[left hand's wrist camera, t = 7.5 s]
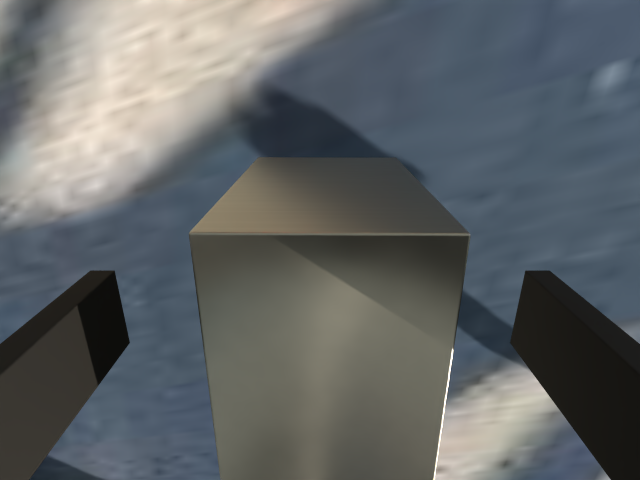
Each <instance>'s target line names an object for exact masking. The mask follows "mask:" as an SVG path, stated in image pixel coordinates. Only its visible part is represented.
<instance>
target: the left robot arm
mask: <svg viewBox="0 0 640 480" xmlns="http://www.w3.org/2000/svg"><path fill="white" fill-rule="evenodd" d="M129 343H130V341H129V337H128V332H127V327H126V323H125V318H124V313H123V308H122V304H121V299H120V294H119V289H118V285H117V280H116V275H115V271H90V272H88V273H87V274H86V275H85V276H83V277H82V278H81V279H80V280H78V281H77V282H76V283H75V284H74V285H72V286H71V287H70V288H69V289H67V290H66V291H65V292H64V293H62V294H61V295H60V296H59V297H58V298H56V299H55V300H54V301H53V302H51V303H50V304H49V305H48V306H46V307H45V308H44V309H43V310H42V311H40V312H39V313H38V314H37V315H35V316H34V317H33V318H32V319H31V320H29V321H28V322H27V323H26V324H24V325H23V326H22V327H21V328H19V329H18V330H17V331H16V332H15V333H13V334H12V335H11V336H10V337H8V338H7V339H6V340H5V341H3V342H2V343H1V344H0V480H29V479H30V478H31V476H32V475H33V474H34V472H35V471H36V470H37V468H38V467H39V465H40V464H41V463H42V461H43V460H44V459H45V457H46V456H47V455H48V453H49V452H50V451H51V449H52V448H53V446H54V445H55V444H56V442H57V441H58V440H59V438H60V437H61V436H62V434H63V433H64V431H65V430H66V429H67V427H68V426H69V425H70V423H71V422H72V421H73V419H74V418H75V417H76V415H77V414H78V412H79V411H80V410H81V408H82V407H83V406H84V404H85V403H86V402H87V400H88V399H89V397H90V396H91V395H92V393H93V392H94V391H95V389H96V388H97V387H98V385H99V384H100V383H101V381H102V380H103V378H104V377H105V376H106V374H107V373H108V372H109V370H110V369H111V368H112V366H113V365H114V363H115V362H116V361H117V359H118V358H119V357H120V355H121V354H122V353H123V351H124V350H125V349H126V347H127V346H128V344H129ZM510 343H511V344H512V346H513V347H514V349H515V350H516V351H517V353H518V354H519V355H520V357H521V358H522V359H523V361H524V362H525V363H526V365H527V366H528V368H529V369H530V370H531V372H532V373H533V374H534V376H535V377H536V378H537V380H538V381H539V383H540V384H541V385H542V387H543V388H544V389H545V391H546V392H547V393H548V395H549V396H550V397H551V399H552V400H553V402H554V403H555V404H556V406H557V407H558V408H559V410H560V411H561V412H562V414H563V415H564V417H565V418H566V419H567V421H568V422H569V423H570V425H571V426H572V427H573V429H574V430H575V431H576V433H577V434H578V436H579V437H580V438H581V440H582V441H583V442H584V444H585V445H586V446H587V448H588V449H589V451H590V452H591V453H592V455H593V456H594V457H595V459H596V460H597V461H598V463H599V464H600V465H601V467H602V468H603V470H604V471H605V472H606V474H607V475H608V476H609V478H610V479H611V480H640V344H639V343H638V342H637V341H635V340H634V339H633V338H632V337H630V336H629V335H628V334H627V333H625V332H624V331H623V330H622V329H621V328H619V327H618V326H617V325H616V324H614V323H613V322H612V321H611V320H609V319H608V318H607V317H606V316H605V315H603V314H602V313H601V312H600V311H598V310H597V309H596V308H595V307H594V306H592V305H591V304H590V303H589V302H587V301H586V300H585V299H584V298H582V297H581V296H580V295H579V294H578V293H576V292H575V291H574V290H573V289H571V288H570V287H569V286H568V285H566V284H565V283H564V282H563V281H562V280H560V279H559V278H558V277H557V276H555V275H554V274H553V273H552V272H550V271H525V275H524V280H523V285H522V289H521V294H520V299H519V304H518V308H517V313H516V318H515V323H514V327H513V332H512V337H511V341H510Z"/></svg>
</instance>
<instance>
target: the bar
mask: <svg viewBox="0 0 640 480" xmlns="http://www.w3.org/2000/svg"><path fill="white" fill-rule="evenodd" d="M189 239H190V247H191V254H192V262H193V270H194V278H195V285H196V293H197V301H198V309H199V316H200V324H201V332H202V340H203V347H204V355H205V363H206V371H207V378H208V386H209V394H210V402H211V409H212V417H213V425H214V433H215V440H216V448H217V456H218V463H219V471H220V479H221V480H434V477H435V470H436V464H437V457H438V450H439V443H440V437H441V430H442V423H443V417H444V410H445V403H446V396H447V390H448V383H449V376H450V370H451V363H452V356H453V349H454V343H455V336H456V329H457V323H458V316H459V309H460V302H461V296H462V289H463V282H464V276H465V269H466V262H467V255H468V249H469V242H470V233H469V232H468V231H467V230H466V229H465V228H464V227H463V226H462V225H461V224H460V223H459V222H458V221H457V220H456V219H455V218H454V217H453V216H452V215H451V214H450V213H449V212H448V211H447V210H446V209H445V208H444V207H443V205H442V204H441V203H440V202H439V201H438V200H437V199H436V198H435V197H434V196H433V195H432V194H431V193H430V192H429V191H428V190H427V189H426V188H425V187H424V186H423V185H422V184H421V183H420V182H419V181H418V180H417V179H416V178H415V177H414V176H413V175H412V174H411V173H410V172H409V171H408V170H407V169H406V167H405V166H404V165H403V164H402V163H401V162H400V161H399V160H398V159H397V158H335V157H259V158H257V160H256V161H255V162H254V163H253V164H252V165H251V166H250V167H249V168H248V169H247V170H246V171H245V173H244V174H243V175H242V176H241V177H240V178H239V179H238V180H237V181H236V182H235V183H234V185H233V186H232V187H231V188H230V189H229V190H228V191H227V192H226V193H225V194H224V195H223V196H222V198H221V199H220V200H219V201H218V202H217V203H216V204H215V205H214V206H213V207H212V208H211V210H210V211H209V212H208V213H207V214H206V215H205V216H204V217H203V218H202V219H201V220H200V222H199V223H198V224H197V225H196V226H195V227H194V228H193V229H192V230H191V231H190V232H189Z"/></svg>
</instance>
